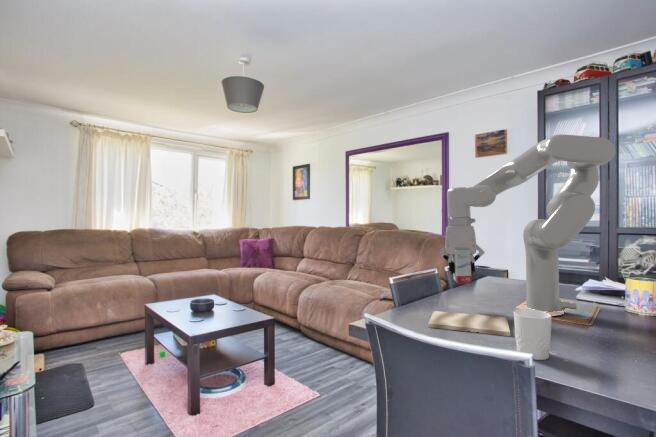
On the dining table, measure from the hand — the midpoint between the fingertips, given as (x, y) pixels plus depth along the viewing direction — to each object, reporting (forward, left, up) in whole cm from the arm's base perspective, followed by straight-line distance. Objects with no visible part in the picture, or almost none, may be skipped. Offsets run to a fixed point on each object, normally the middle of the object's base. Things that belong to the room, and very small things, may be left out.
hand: (462, 273), depth 121 cm
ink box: (0, 0, -3) cm, 3 cm away
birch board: (-2, +16, -13) cm, 21 cm away
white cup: (-17, +34, -13) cm, 41 cm away
